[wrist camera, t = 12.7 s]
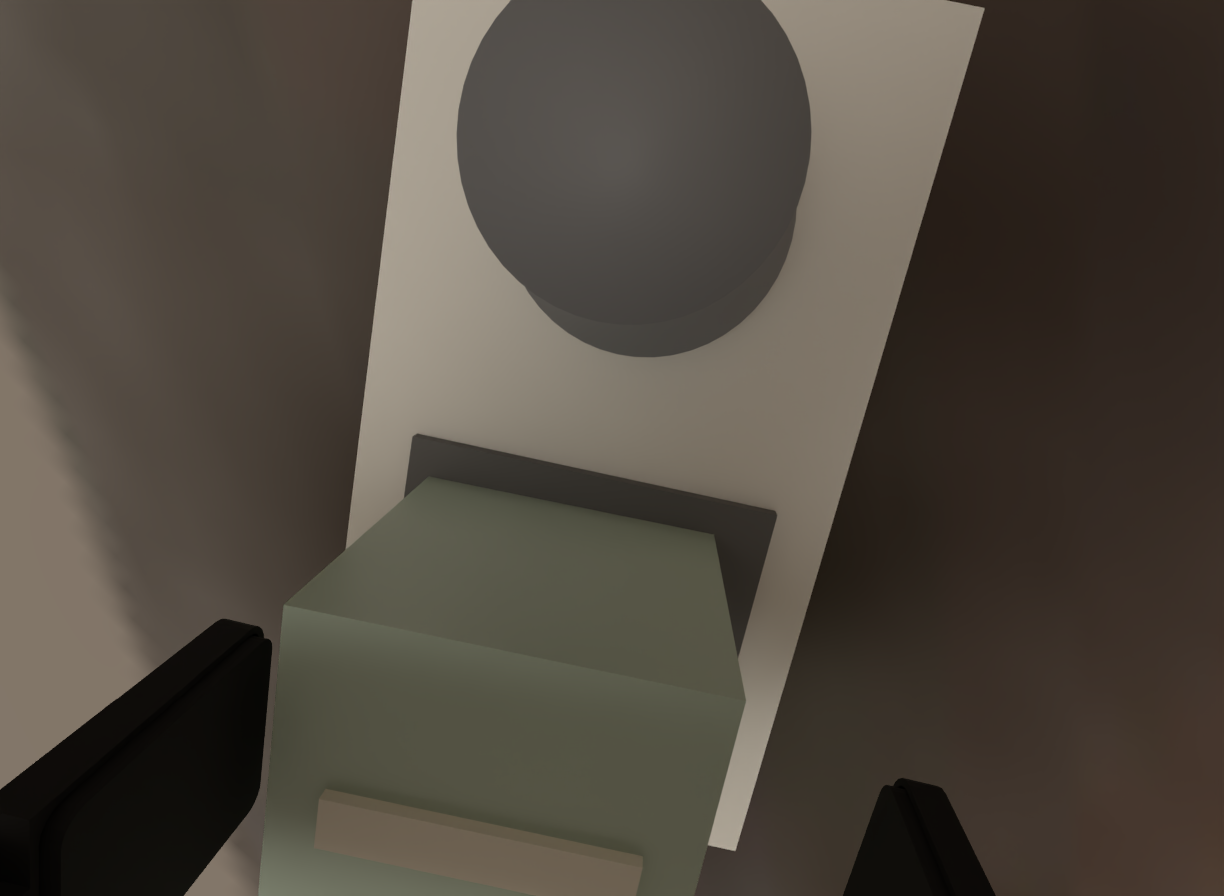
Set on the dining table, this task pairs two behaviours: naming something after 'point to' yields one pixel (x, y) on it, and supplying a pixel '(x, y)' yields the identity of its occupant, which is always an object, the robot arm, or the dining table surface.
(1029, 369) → the dining table surface
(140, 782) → the robot arm
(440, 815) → the green slotted box
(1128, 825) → the dining table surface
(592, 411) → the post board
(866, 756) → the dining table surface
